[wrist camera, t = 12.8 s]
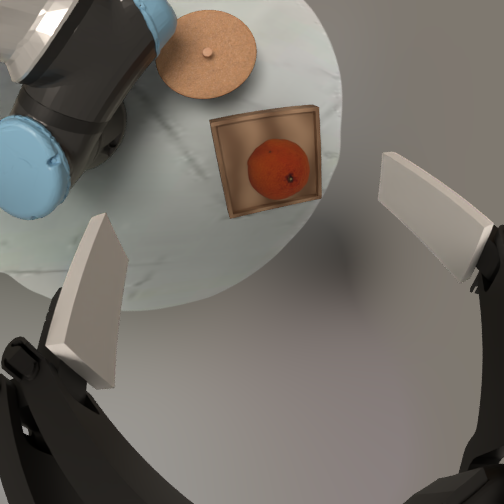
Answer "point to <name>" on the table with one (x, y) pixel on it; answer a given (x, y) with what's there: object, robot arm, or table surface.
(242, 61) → the lidded bowl
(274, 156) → the fruit
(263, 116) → the tray
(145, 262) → the table surface
